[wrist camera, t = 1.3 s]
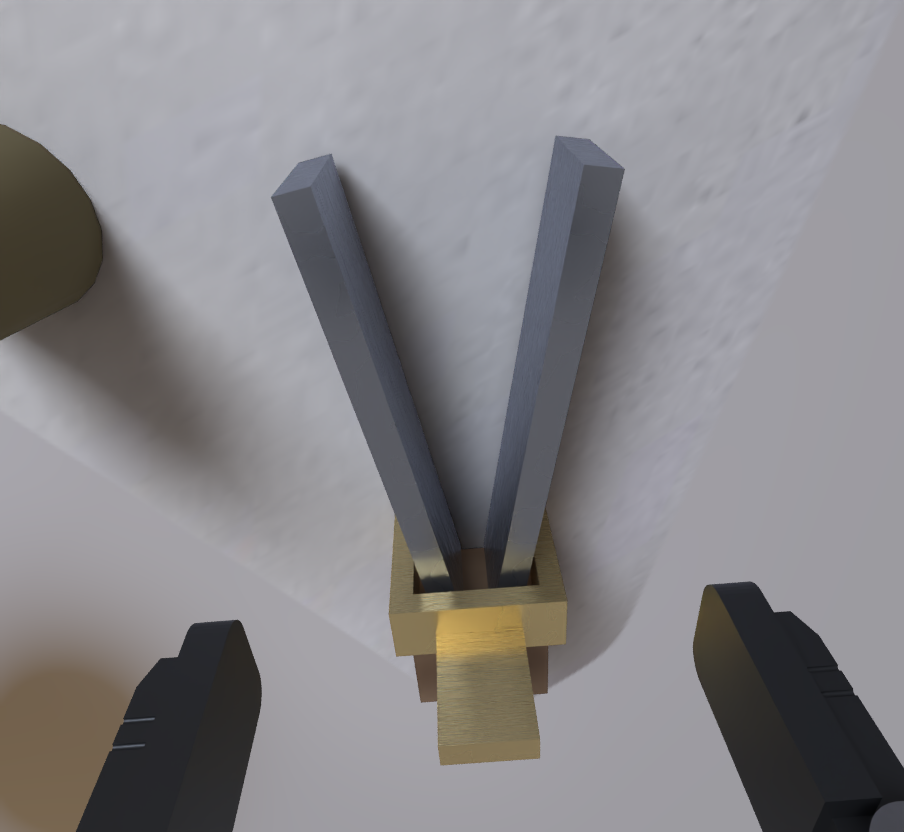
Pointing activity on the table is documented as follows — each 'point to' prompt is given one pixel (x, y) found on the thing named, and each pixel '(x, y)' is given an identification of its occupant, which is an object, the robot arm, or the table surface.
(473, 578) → the block
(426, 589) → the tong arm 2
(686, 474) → the table surface
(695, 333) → the table surface
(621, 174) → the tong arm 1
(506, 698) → the collar
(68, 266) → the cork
